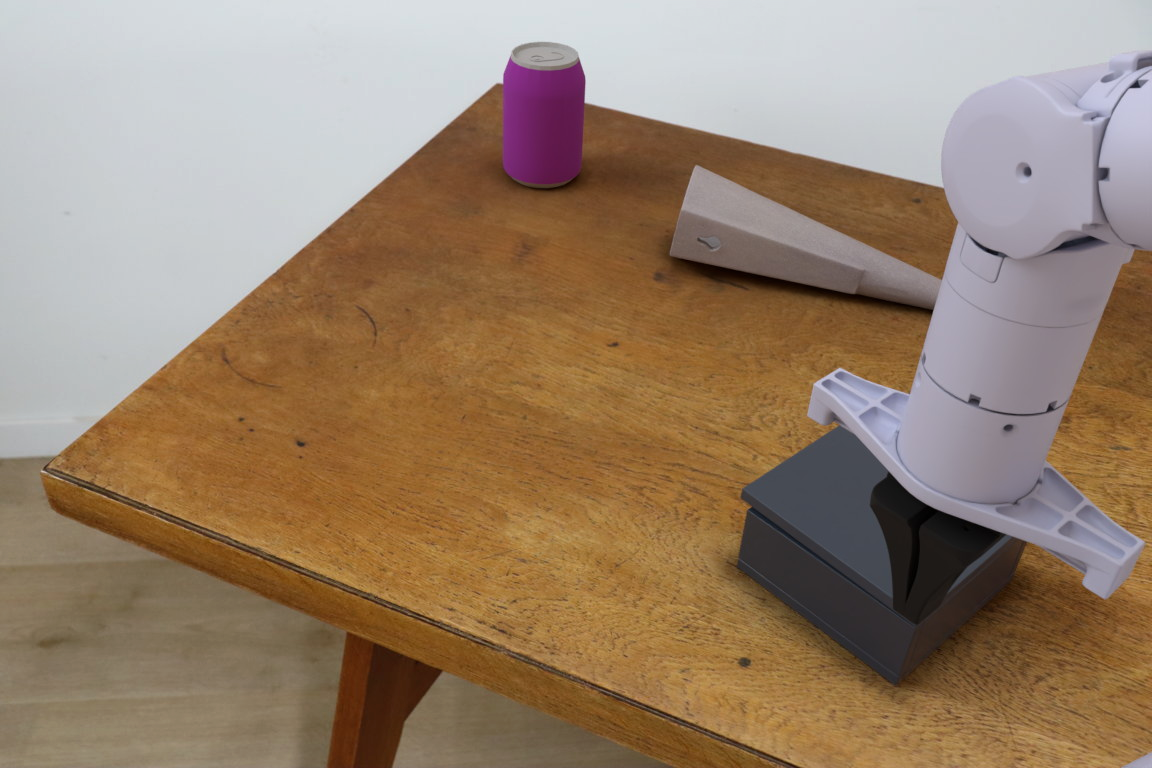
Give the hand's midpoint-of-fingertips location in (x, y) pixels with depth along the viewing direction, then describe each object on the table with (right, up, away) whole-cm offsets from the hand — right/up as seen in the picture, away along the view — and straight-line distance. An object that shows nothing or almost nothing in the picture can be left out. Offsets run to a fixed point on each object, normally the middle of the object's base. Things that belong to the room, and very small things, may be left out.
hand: (916, 606), depth 51 cm
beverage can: (-19, +31, +57) cm, 67 cm away
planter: (+5, +20, +44) cm, 49 cm away
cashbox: (+2, -1, +16) cm, 16 cm away
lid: (+2, +3, +13) cm, 14 cm away
